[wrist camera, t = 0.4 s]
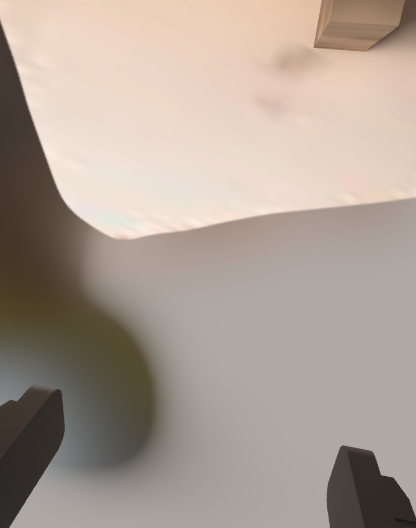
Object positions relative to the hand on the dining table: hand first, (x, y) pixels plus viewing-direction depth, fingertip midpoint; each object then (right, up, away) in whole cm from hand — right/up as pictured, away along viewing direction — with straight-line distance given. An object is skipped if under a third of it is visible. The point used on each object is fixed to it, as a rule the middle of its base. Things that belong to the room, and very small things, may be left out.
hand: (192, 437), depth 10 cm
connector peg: (+11, +24, +18) cm, 32 cm away
